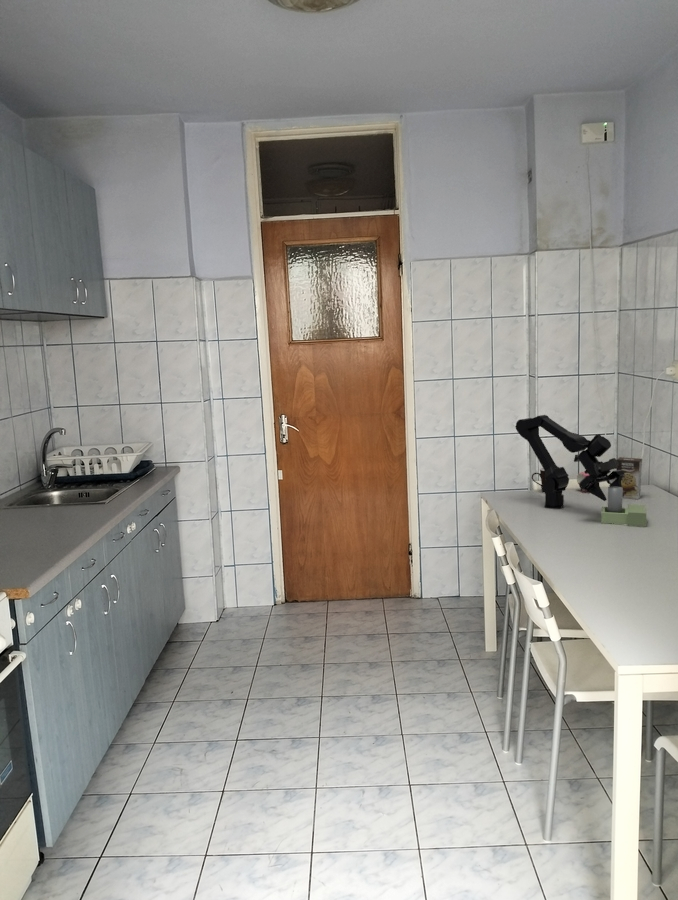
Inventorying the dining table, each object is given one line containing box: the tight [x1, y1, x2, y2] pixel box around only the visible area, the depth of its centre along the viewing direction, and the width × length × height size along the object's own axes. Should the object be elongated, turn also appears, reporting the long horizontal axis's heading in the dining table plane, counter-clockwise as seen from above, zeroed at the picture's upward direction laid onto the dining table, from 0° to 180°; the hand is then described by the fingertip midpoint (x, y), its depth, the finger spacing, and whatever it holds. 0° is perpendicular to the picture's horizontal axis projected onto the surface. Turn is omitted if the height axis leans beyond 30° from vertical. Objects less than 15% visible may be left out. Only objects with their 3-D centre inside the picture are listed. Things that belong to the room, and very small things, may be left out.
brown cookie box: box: [616, 456, 643, 500], centre depth 303 cm, size 9×6×16 cm
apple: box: [576, 471, 589, 493], centre depth 316 cm, size 10×9×10 cm
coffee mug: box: [531, 467, 546, 487], centre depth 318 cm, size 12×9×10 cm
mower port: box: [600, 504, 647, 528], centre depth 269 cm, size 15×12×5 cm
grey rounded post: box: [607, 486, 623, 513], centre depth 269 cm, size 5×5×12 cm
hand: (614, 498), depth 269 cm, fingers open, 9 cm apart
